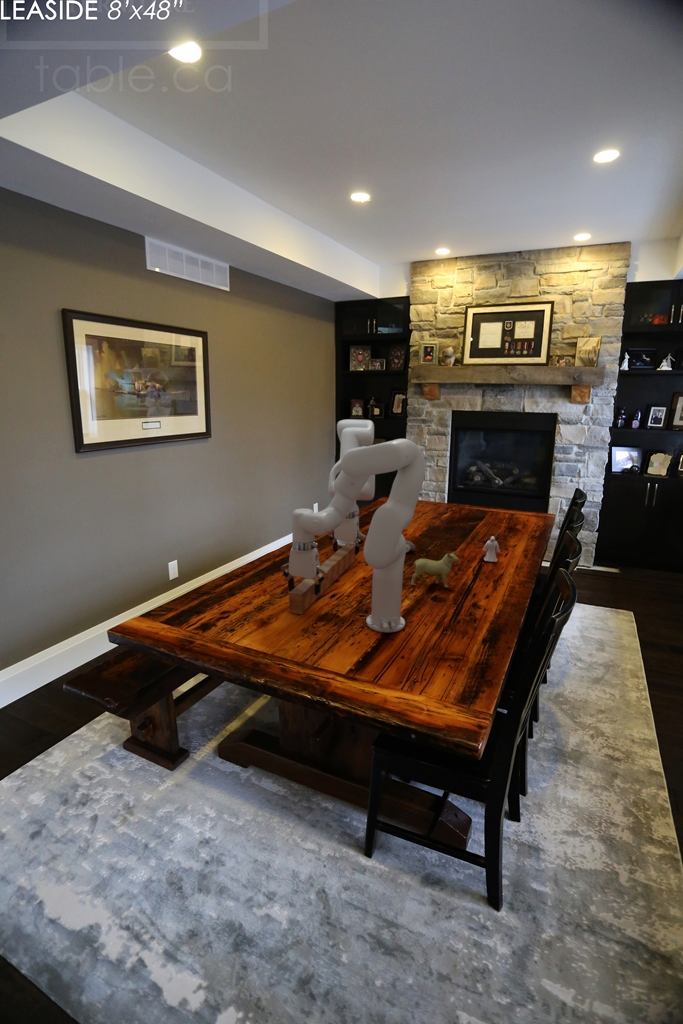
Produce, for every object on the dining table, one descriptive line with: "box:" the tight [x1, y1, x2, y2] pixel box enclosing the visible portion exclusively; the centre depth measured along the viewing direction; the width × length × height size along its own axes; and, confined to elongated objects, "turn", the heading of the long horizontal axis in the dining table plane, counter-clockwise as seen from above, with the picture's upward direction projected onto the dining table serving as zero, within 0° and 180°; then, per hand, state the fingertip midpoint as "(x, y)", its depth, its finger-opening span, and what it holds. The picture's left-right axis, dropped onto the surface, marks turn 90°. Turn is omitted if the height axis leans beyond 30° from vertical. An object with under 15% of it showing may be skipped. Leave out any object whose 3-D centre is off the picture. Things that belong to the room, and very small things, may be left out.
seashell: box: [405, 539, 417, 553], centre depth 234 cm, size 8×5×8 cm
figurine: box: [482, 535, 501, 563], centre depth 223 cm, size 8×8×12 cm
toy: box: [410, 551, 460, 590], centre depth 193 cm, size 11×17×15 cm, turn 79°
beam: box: [288, 543, 357, 615], centre depth 195 cm, size 59×4×7 cm, turn 160°
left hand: (346, 552), depth 216 cm, fingers open, 9 cm apart
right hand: (304, 591), depth 174 cm, fingers open, 9 cm apart
